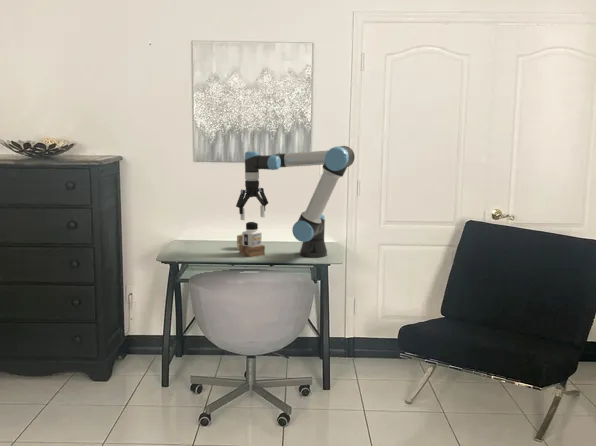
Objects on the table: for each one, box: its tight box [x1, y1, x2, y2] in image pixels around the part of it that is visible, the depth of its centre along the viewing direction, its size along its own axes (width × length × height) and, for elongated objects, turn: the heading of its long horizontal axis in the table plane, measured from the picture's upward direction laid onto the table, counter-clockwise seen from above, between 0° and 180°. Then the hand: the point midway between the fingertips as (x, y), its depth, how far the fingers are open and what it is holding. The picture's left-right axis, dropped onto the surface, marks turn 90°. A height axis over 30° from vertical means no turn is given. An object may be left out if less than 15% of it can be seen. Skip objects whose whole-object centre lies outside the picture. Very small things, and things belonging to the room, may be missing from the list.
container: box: [241, 221, 263, 247], centre depth 351 cm, size 8×8×13 cm
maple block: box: [236, 233, 242, 250], centre depth 366 cm, size 6×6×8 cm
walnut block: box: [238, 244, 266, 258], centre depth 353 cm, size 10×10×5 cm
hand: (252, 218), depth 349 cm, fingers open, 13 cm apart
